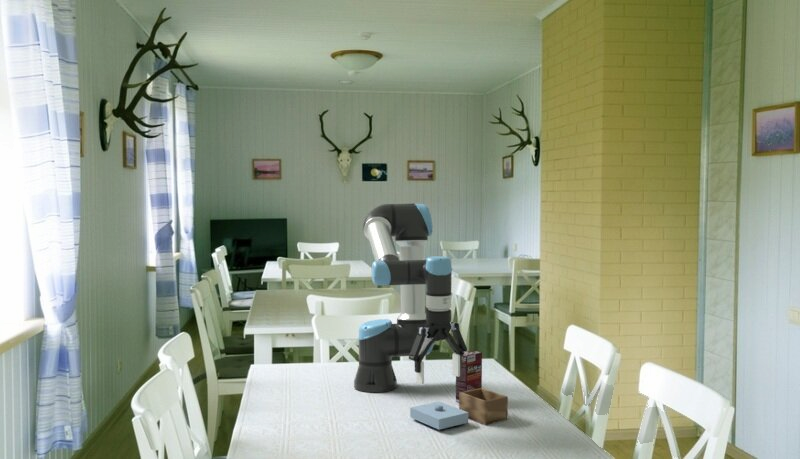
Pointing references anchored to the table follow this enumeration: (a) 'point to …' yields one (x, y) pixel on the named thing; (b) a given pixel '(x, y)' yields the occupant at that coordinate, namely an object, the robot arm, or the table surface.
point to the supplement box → (469, 373)
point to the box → (484, 406)
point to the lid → (439, 415)
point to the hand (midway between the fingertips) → (438, 379)
